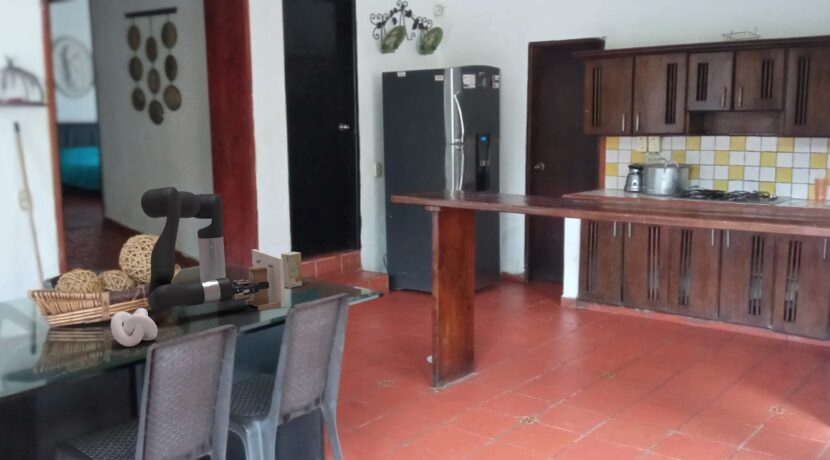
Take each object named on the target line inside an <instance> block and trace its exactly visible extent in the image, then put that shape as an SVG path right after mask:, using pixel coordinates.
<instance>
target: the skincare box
mask: <svg viewBox="0 0 830 460" xmlns="http://www.w3.org/2000/svg"><path fill="white" fill-rule="evenodd" d="M280 256H281V257H280V258H283V271H284V288H288V289H292V288H296V287H301V286H303V275H302V274H303V271H302V253H301V252H298V251H291V252H285V253H281V255H280Z"/></svg>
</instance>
